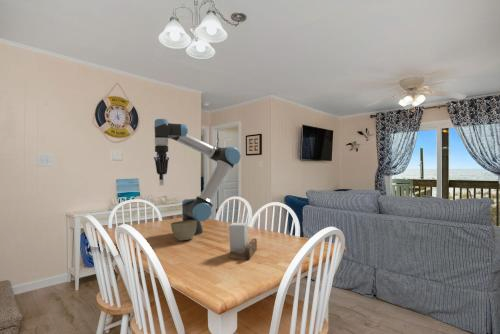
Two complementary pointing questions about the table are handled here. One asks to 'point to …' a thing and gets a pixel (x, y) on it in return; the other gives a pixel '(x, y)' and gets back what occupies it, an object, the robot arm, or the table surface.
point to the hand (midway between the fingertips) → (162, 185)
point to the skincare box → (238, 237)
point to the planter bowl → (184, 229)
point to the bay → (248, 253)
